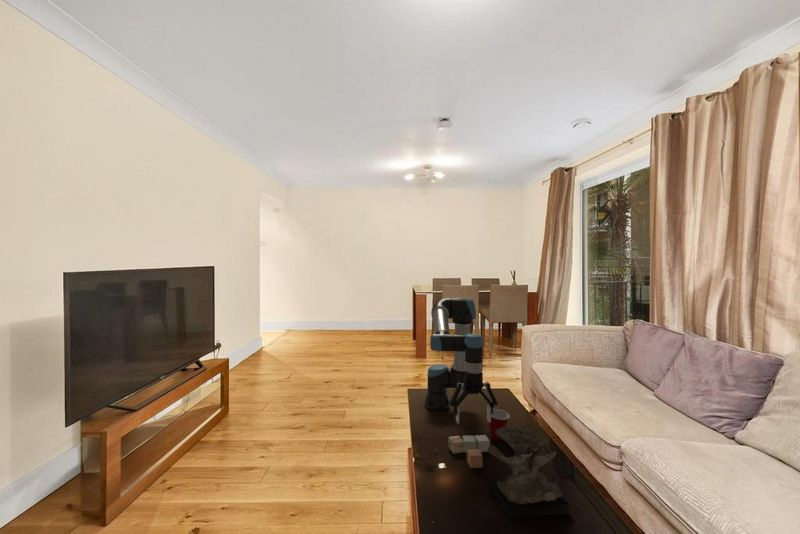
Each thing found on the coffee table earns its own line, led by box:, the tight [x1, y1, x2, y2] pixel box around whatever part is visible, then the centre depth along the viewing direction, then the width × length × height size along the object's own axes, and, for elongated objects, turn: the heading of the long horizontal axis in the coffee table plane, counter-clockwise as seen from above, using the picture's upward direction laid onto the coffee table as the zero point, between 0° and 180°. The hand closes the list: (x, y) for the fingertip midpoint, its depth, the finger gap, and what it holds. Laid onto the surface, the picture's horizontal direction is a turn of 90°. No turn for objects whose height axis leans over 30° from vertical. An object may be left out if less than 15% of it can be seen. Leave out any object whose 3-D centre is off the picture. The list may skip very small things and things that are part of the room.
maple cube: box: [448, 435, 465, 455], centre depth 150 cm, size 5×5×5 cm
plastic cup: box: [488, 408, 511, 441], centre depth 161 cm, size 11×11×12 cm
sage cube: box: [462, 435, 476, 454], centre depth 150 cm, size 5×5×5 cm
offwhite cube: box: [474, 434, 491, 453], centre depth 151 cm, size 5×5×5 cm
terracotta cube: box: [466, 449, 483, 469], centre depth 139 cm, size 5×5×5 cm
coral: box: [488, 426, 570, 519], centre depth 120 cm, size 25×20×22 cm
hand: (473, 421), depth 141 cm, fingers open, 13 cm apart
